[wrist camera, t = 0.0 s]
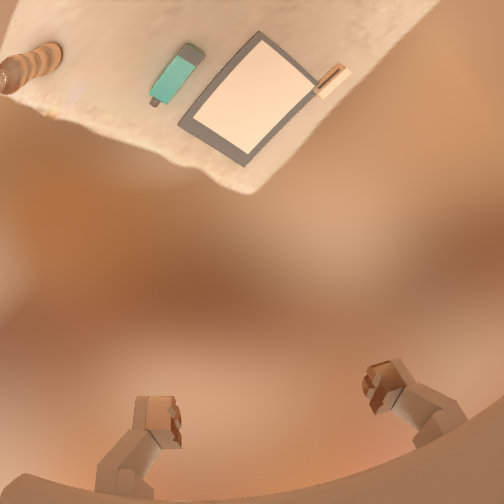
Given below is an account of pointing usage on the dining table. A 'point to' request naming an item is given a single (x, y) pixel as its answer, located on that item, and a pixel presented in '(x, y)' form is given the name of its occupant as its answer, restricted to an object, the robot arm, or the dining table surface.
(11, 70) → the plastic bottle
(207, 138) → the writing board
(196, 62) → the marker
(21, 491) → the robot arm
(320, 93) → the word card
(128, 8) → the dining table surface
